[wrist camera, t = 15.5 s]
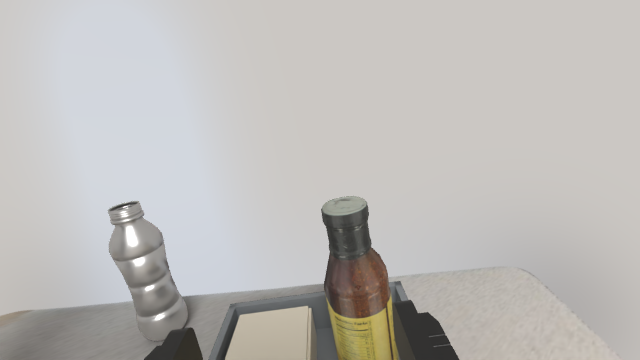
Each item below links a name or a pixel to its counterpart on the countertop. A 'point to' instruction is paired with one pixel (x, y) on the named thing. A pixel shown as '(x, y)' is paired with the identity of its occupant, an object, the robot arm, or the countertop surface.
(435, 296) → the countertop surface
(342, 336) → the sauce bottle
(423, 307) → the countertop surface
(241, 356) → the cream rectangular box
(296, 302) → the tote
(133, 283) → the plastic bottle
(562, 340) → the countertop surface
